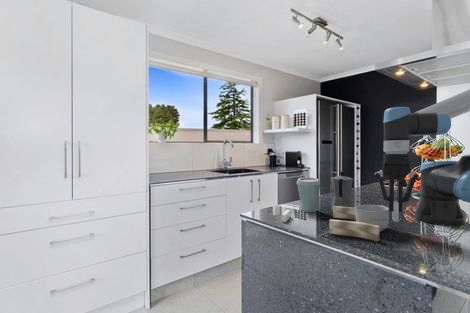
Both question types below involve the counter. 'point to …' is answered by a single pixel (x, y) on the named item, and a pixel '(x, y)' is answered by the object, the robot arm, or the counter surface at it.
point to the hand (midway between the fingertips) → (395, 220)
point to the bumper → (286, 216)
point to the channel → (351, 225)
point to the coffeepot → (341, 191)
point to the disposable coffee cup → (308, 193)
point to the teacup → (373, 215)
